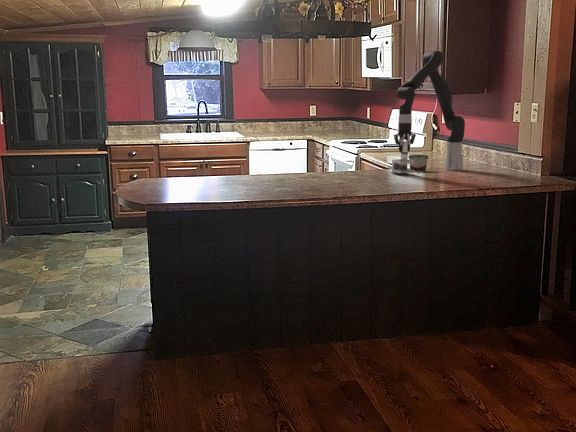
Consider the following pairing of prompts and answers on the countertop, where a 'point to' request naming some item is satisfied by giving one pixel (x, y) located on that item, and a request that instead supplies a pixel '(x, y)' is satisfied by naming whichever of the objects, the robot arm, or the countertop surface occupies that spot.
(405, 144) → the tube
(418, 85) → the robot arm
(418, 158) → the food container
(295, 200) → the countertop surface
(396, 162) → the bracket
